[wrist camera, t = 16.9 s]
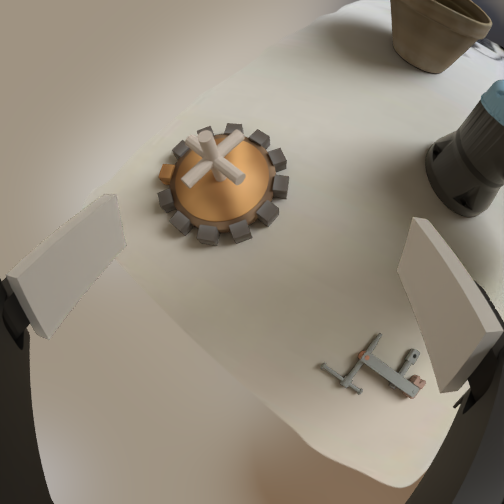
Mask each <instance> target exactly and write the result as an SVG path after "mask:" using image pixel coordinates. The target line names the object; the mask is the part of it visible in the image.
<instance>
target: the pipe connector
mask: <svg viewBox="0 0 504 504" xmlns="http://www.w3.org/2000/svg"><path fill="white" fill-rule="evenodd" d="M244 139H245V137H244V135H243V133H242V132H241V131H239V130H237V129H236V130H234V131H233V132H232V133H231V134H230V135H229V136H227V137H226V138H225V139H224V140H223V141H222V142H220V143H219V144H218V145H216V143H215V140H214V137H213V134H212V132H211V131H208V130H205V131H202V132H200V133H199V134H198V137H196V136H194V135H190V136H189V137H188V138H187V139H186V141H185V145H187V146H188V147H189V148H190V149H192V150H193V151H194V152H195V153H197V154H198V155H199V156H201V157H202V159H201V160H200V161H199V162H198V163H197V164H196V165H195V166H194V167H193V168H191V169H190V170H189V171H188V172H187V173H186V174H185V175H184V176H183V177H182V178H181V180H182V182H183V183H184V184H185V185H186V186H187V187H188V188H191V187H193V186H194V185H195V184H196V183H197V182H198V181H199V180H200V179H201V178H202V177H203V176H204V175H205V174H206V173H207V172H208V171H209V170H212V173H213V175H214V177H215V179H216V181H219V182H222V181H224V180H225V179H226V178H228V179H229V180H231V181H232V182H233V183H234V184H235V185H239V184H241V183H242V182H243V181H244V179H245V177H246V175H245V174H244V173H243V172H242V171H241V170H239V169H238V168H237V167H235V166H234V165H233V164H232V163H230V162H229V161H228V160H226V159H225V158H224V157H225V156H226V155H227V154H228V153H229V152H230V151H232V150H233V149H234V148H235V147H236V146H237V145H238V144H240V143H241V142H242V141H243V140H244Z"/></svg>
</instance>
